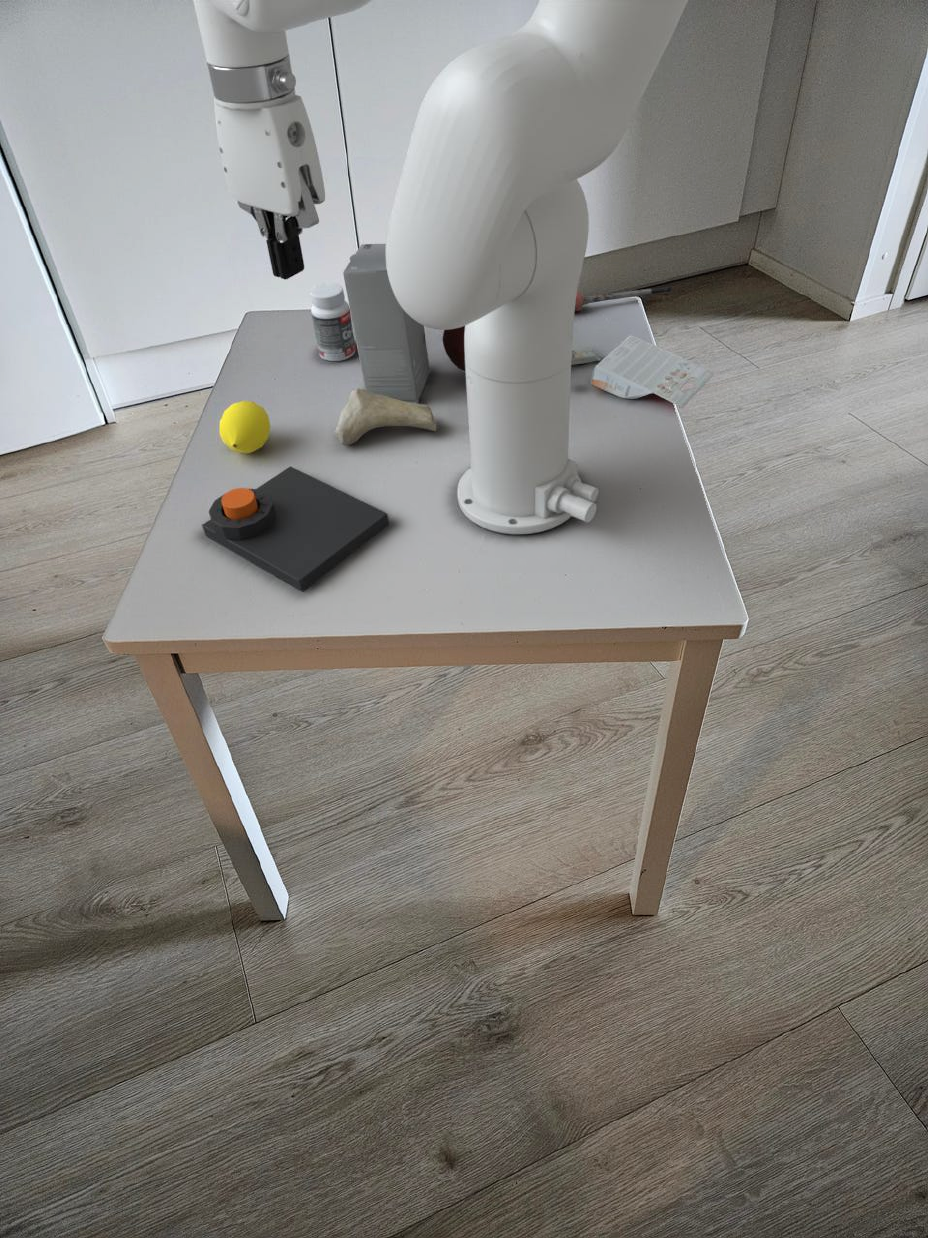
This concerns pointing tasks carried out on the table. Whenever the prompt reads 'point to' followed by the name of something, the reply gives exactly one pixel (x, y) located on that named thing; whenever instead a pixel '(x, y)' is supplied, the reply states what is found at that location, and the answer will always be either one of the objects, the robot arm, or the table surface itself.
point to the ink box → (648, 372)
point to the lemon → (244, 427)
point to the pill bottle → (332, 322)
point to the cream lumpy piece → (379, 415)
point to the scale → (297, 527)
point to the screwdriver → (615, 296)
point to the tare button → (239, 503)
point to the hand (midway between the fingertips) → (289, 272)
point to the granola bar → (584, 356)
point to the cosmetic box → (384, 329)
